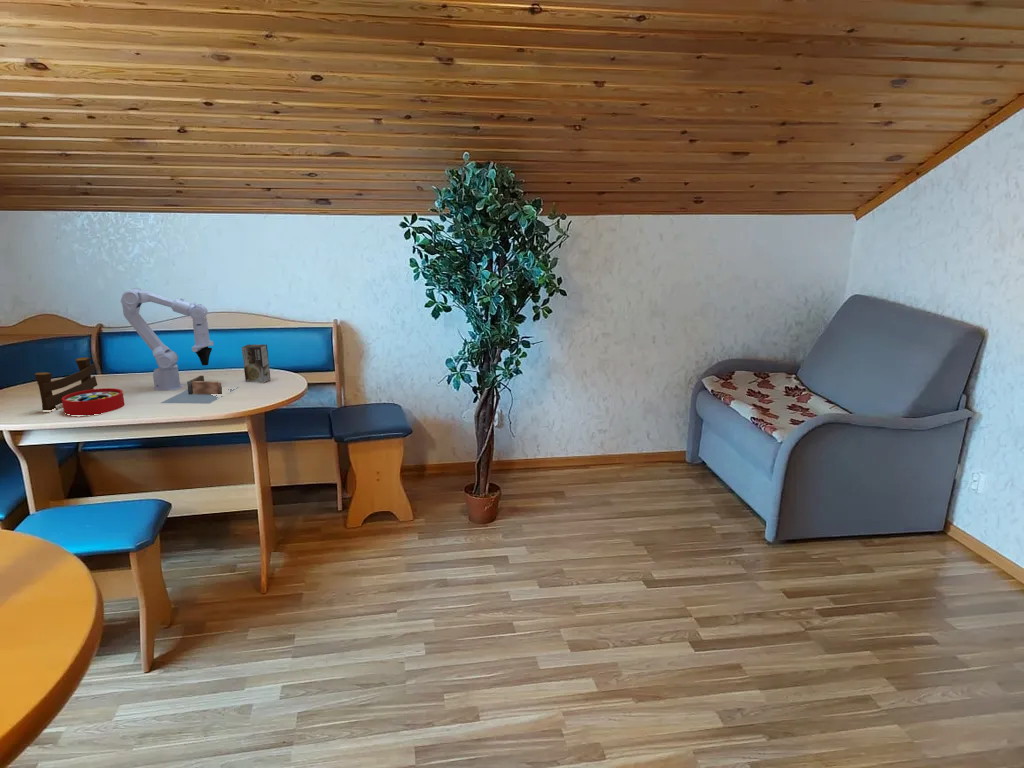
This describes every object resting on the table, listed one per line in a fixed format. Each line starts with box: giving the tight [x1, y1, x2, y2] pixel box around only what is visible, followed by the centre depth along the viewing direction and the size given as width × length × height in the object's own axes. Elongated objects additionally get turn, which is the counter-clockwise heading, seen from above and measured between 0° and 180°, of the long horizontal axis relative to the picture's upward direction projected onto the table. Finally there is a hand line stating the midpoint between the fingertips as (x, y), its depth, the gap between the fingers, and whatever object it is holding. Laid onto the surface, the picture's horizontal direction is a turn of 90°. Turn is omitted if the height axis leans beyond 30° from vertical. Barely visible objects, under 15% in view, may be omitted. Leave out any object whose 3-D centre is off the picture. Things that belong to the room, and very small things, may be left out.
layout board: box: [160, 386, 240, 405], centre depth 279 cm, size 20×26×1 cm
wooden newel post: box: [192, 380, 223, 394], centre depth 279 cm, size 12×2×5 cm, turn 85°
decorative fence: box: [34, 356, 98, 410], centre depth 270 cm, size 34×6×15 cm, turn 2°
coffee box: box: [241, 343, 271, 383], centre depth 301 cm, size 9×6×16 cm
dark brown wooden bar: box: [186, 375, 205, 394], centre depth 285 cm, size 2×12×5 cm, turn 177°
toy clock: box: [61, 387, 125, 416], centre depth 261 cm, size 20×6×20 cm
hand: (205, 365), depth 292 cm, fingers closed
